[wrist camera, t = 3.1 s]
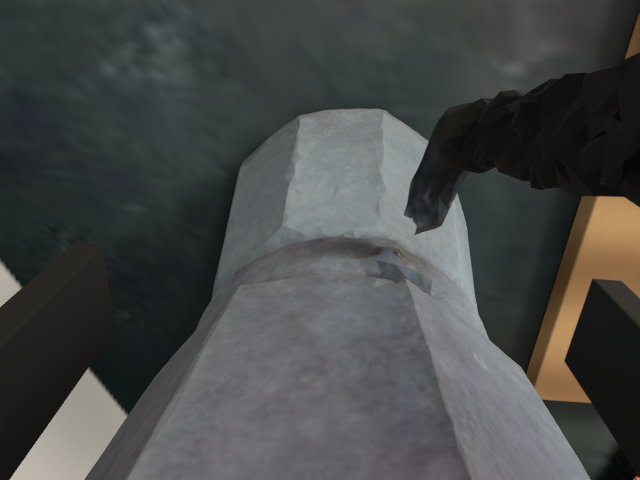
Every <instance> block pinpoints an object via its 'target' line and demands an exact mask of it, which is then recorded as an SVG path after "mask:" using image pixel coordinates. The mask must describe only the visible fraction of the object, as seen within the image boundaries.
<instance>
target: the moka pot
mask: <svg viewBox="0 0 640 480" xmlns="http://www.w3.org/2000/svg"><path fill="white" fill-rule="evenodd" d="M495 167H497V169H498V171H499V172H501V173H503V174H506V175H509V176H511V177H514V178H517V179H519V180H521V181H530V183H531V188H536V189H540V190H544V189H547V188H556V187H559V188H561V189H563V190H564V191H566V192H567V193H569V194H570V195H572V196H606V197H625V198H626V199H628V200H629V201H631V202H632V203H634V204H635V205H637V206H638V207H640V53H637V54H635V55H633V56H631V57H628V58H626V59H625V60H624V61H623V62H622V63H621V64H619V65H615V66H611V67H607V68H602V69H598V70H594V71H590V72H586V73H575V74H566V75H564V76H563V77H562V78H561V79H550V80H549V81H547V82H545V83H543V84H542V85H540V86H538V87H537V88H535V89H533V90H532V91H530V92H528V93H527V94H525V93H522V92H519V91H515V90H511V91H502V92H500V93H499V94H498V95H497V96H496V97H495V98H494V99H486V98H482V99H480V100H478V101H475V102H472V103H467V104H462V105H459V106H455V107H449V108H448V110H447V111H446V112H445V113H444V114H443V115H442V117H441V118H440V119H439V121H438V122H437V124H436V126H435V128H434V130H433V133H432V135H431V138H430V140H429V141H428V140H427V139H425V138H423V137H422V136H421V135H420V134H418V133H417V132H416V131H414V130H413V129H412V128H410V127H409V126H407V125H406V124H404V123H403V122H401V121H399V120H398V119H396V118H395V117H393V116H392V115H391V114H389V113H388V112H387V111H386V110H382V109H377V108H376V109H362V108H354V109H335V110H324V111H320V112H315V113H309V114H304V115H300V116H297V117H296V118H294V119H293V120H291V121H290V122H288V123H287V124H286V125H284V126H283V127H282V128H281V129H279V130H278V131H277V132H276V133H275V134H273V135H272V136H271V137H270V138H268V139H267V140H266V141H265V142H264V143H263V144H261V145H260V146H259V147H258V148H257V149H256V150H255V151H254V152H253V153H252V154H251V155H249V156H248V157H246V158H245V159H244V161H243V162H242V164H241V167H240V170H239V174H238V178H237V182H236V186H235V192H234V196H233V201H232V206H231V211H230V216H229V219H228V224H227V229H226V234H225V239H224V244H223V249H222V253H221V258H220V261H219V265H218V269H217V274H216V278H215V282H214V288H213V294H212V300H211V302H210V303H209V305H208V306H207V308H206V309H205V311H204V313H203V315H202V317H201V319H200V321H199V323H198V326H197V328H196V330H195V332H194V333H193V334H192V335H191V336H190V338H189V339H188V340H187V341H186V342H185V343H184V344H183V345H182V346H181V347H180V349H179V350H178V351H177V352H176V353H175V354H174V355H173V357H172V358H171V359H170V360H169V361H168V362H167V363H166V365H165V366H164V367H163V368H162V369H161V370H160V372H159V373H158V374H157V375H156V376H155V377H154V379H153V380H152V382H151V383H150V385H149V386H148V387H147V389H146V390H145V392H144V393H143V395H142V396H141V398H140V399H139V400H138V402H137V403H136V405H135V406H134V408H133V409H132V411H131V412H130V414H129V415H128V417H127V418H126V420H125V421H124V422H123V424H122V425H121V427H120V428H119V430H118V431H117V433H116V434H115V436H114V437H113V439H112V440H111V442H110V443H109V445H108V446H107V448H106V449H105V451H104V452H103V454H102V455H101V457H100V458H99V460H98V461H97V462H96V464H95V465H94V467H93V468H92V470H91V471H90V472H89V474H88V475H87V477H86V478H85V480H591V479H590V478H589V476H588V474H587V473H586V471H585V469H584V468H583V466H582V464H581V462H580V461H579V459H578V457H577V456H576V454H575V453H574V451H573V449H572V448H571V446H570V445H569V443H568V441H567V440H566V438H565V436H564V435H563V433H562V432H561V430H560V428H559V427H558V425H557V424H556V422H555V420H554V419H553V417H552V416H551V414H550V412H549V411H548V409H547V408H546V406H545V404H544V403H543V401H542V400H541V398H540V396H539V395H538V393H537V392H536V390H535V389H534V387H533V385H532V384H531V382H530V381H529V379H528V377H527V376H526V374H525V373H524V371H523V369H522V368H521V367H520V366H519V365H518V364H517V363H515V362H514V361H513V360H512V359H511V358H509V357H508V356H507V355H506V354H505V353H503V352H502V351H501V350H500V349H499V348H498V347H496V346H495V345H494V344H493V343H492V342H491V341H490V340H489V338H488V336H487V333H486V331H485V328H484V326H483V323H482V321H481V319H480V317H479V315H478V311H477V305H476V299H475V294H474V285H473V275H472V268H471V260H470V252H469V244H468V234H467V227H466V223H465V219H464V215H463V211H462V208H461V204H460V201H459V197H458V190H459V188H460V186H461V184H462V182H463V180H464V178H465V177H466V176H467V174H468V173H469V172H474V173H484V172H486V171H488V170H490V169H493V168H495Z"/></svg>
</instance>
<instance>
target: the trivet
mask: <svg viewBox="0 0 640 480" xmlns="http://www.w3.org/2000/svg"><path fill="white" fill-rule="evenodd" d="M637 53H640V12H639V15H638V18H637V21H636V24H635V28H634V31H633V34H632V37H631V40H630V44H629V47H628V50H627V53H626V56H625V59H626V58H628V57H631V56H633V55H635V54H637ZM592 279H604V280H618V281H622V282H623V283H624V284H625V285H626V286H627V287H628V288H629V289H630V290H632V291H633V292H634V293H635V294H636V295H637V296H638V297H639V298H640V207H638V206H637V205H635V204H634V203H632V202H631V201H629V200H628V199H626V198H625V197H606V196H582V197H581V200H580V204H579V207H578V210H577V213H576V216H575V220H574V223H573V226H572V229H571V232H570V236H569V239H568V242H567V245H566V248H565V252H564V255H563V258H562V261H561V264H560V268H559V271H558V274H557V277H556V280H555V284H554V287H553V290H552V293H551V296H550V300H549V303H548V306H547V309H546V312H545V316H544V319H543V322H542V325H541V328H540V332H539V335H538V338H537V341H536V344H535V348H534V351H533V354H532V357H531V360H530V364H529V367H528V370H527V373H526V376H527V377H528V379H529V381H530V382H531V384H532V385H533V387H534V389H535V390H536V392H537V393H538V395H539V396H540V398H541V400H553V401H568V402H582V403H591V401H590V400H589V398H588V397H587V395H586V394H585V392H584V391H583V389H582V388H581V386H580V385H579V383H578V382H577V380H576V379H575V377H574V375H573V374H572V372H571V371H570V369H569V368H568V366H567V365H566V363H565V362H564V360H565V357H566V354H567V351H568V348H569V346H570V343H571V340H572V337H573V334H574V331H575V328H576V325H577V322H578V319H579V316H580V313H581V311H582V308H583V305H584V302H585V299H586V296H587V293H588V290H589V287H590V284H591V281H592Z"/></svg>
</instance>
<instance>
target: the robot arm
mask: <svg viewBox="0 0 640 480" xmlns="http://www.w3.org/2000/svg"><path fill="white" fill-rule="evenodd" d="M114 330H115V329H114V322H113V315H112V308H111V301H110V294H109V287H108V280H107V273H106V266H105V259H104V252H103V245H97V244H82V243H73V244H72V245H71V246H70V247H69V248H68V249H67V250H65V251H64V252H63V253H62V254H61V255H60V256H59V257H57V258H56V259H55V260H54V261H53V262H52V263H50V264H49V265H48V266H47V267H46V268H45V269H44V270H42V271H41V272H40V273H39V274H38V275H37V276H36V277H34V278H33V279H32V280H31V281H30V282H29V283H28V284H26V285H25V286H24V287H23V288H22V289H21V290H19V291H18V292H17V293H16V294H15V295H14V296H13V297H11V299H9V300H8V301H7V302H6V303H5V304H3V305H2V306H1V307H0V480H9V479H10V478H11V477H12V475H13V474H14V472H15V471H16V470H17V468H18V467H19V465H20V464H21V462H22V461H23V460H24V458H25V457H26V455H27V454H28V452H29V451H30V450H31V448H32V447H33V445H34V444H35V442H36V441H37V440H38V438H39V437H40V435H41V434H42V433H43V431H44V430H45V428H46V427H47V425H48V424H49V423H50V421H51V420H52V418H53V417H54V415H55V414H56V413H57V411H58V410H59V408H60V407H61V406H62V404H63V403H64V401H65V400H66V398H67V397H68V395H69V394H70V393H71V391H72V390H73V388H74V387H75V386H76V384H77V383H78V381H79V380H80V378H81V377H82V376H83V374H84V373H85V371H86V370H87V369H88V367H89V366H90V364H91V363H92V361H93V360H94V359H95V357H96V356H97V354H98V353H99V352H100V350H101V349H102V347H103V346H104V344H105V343H106V342H107V340H108V339H109V337H110V336H111V334H112V333H113V332H114ZM564 362H565V363H566V365H567V366H568V368H569V369H570V371H571V372H572V374H573V375H574V377H575V379H576V380H577V382H578V383H579V385H580V386H581V388H582V389H583V391H584V392H585V394H586V395H587V397H588V398H589V400H590V401H591V403H592V405H593V406H594V408H595V409H596V411H597V412H598V414H599V415H600V417H601V418H602V420H603V421H604V423H605V424H606V426H607V427H608V429H609V431H610V432H611V434H612V435H613V437H614V438H615V440H616V441H617V443H618V444H619V446H620V447H621V449H622V450H623V452H624V453H625V455H626V456H627V458H628V460H629V461H630V463H631V464H632V466H633V467H634V469H635V470H636V472H637V473H638V475H639V476H640V298H639V297H638V296H637V295H636V294H635V293H634V292H633V291H632V290H630V289H629V288H628V287H627V286H626V285H625V284H624V283H623V282H622V281H618V280H604V279H592V281H591V284H590V287H589V290H588V293H587V296H586V299H585V302H584V305H583V308H582V311H581V313H580V316H579V319H578V322H577V325H576V328H575V331H574V334H573V337H572V340H571V343H570V346H569V348H568V351H567V354H566V357H565V360H564Z"/></svg>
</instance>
